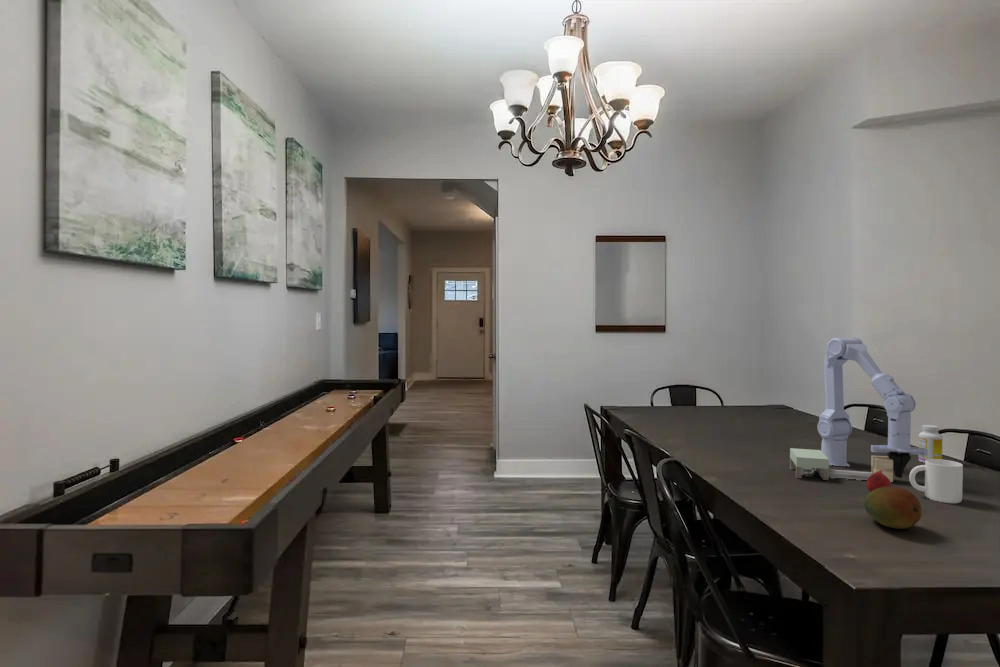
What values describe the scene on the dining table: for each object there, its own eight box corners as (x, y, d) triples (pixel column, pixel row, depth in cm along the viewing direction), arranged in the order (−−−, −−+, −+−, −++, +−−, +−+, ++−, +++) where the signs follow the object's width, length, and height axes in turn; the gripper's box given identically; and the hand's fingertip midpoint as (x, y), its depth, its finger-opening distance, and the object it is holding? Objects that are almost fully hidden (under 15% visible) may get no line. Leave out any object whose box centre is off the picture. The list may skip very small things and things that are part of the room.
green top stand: (789, 468, 193) (790, 448, 193) (819, 470, 190) (820, 450, 190) (796, 478, 181) (796, 457, 180) (828, 481, 178) (829, 459, 178)
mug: (911, 499, 160) (911, 462, 160) (906, 491, 167) (907, 456, 167) (965, 505, 154) (966, 467, 154) (958, 497, 162) (959, 461, 161)
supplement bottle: (943, 462, 200) (943, 425, 200) (940, 466, 195) (941, 428, 195) (919, 459, 205) (920, 423, 204) (916, 462, 200) (917, 426, 200)
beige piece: (817, 473, 187) (818, 452, 186) (887, 478, 180) (887, 456, 180) (821, 477, 182) (821, 455, 182) (892, 482, 176) (893, 460, 176)
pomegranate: (883, 502, 157) (883, 473, 157) (861, 496, 162) (862, 468, 162) (895, 499, 160) (895, 471, 160) (873, 494, 165) (874, 466, 165)
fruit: (901, 539, 132) (901, 496, 131) (848, 521, 143) (849, 481, 143) (932, 531, 136) (933, 489, 136) (879, 514, 148) (879, 476, 147)
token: (795, 472, 189) (795, 466, 189) (812, 473, 187) (812, 467, 187) (797, 476, 184) (797, 470, 184) (815, 477, 183) (815, 471, 183)
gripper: (875, 434, 176) (875, 478, 176) (932, 437, 171) (931, 482, 171) (869, 429, 182) (868, 472, 183) (923, 432, 178) (922, 476, 178)
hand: (898, 476), depth 177 cm, fingers closed
